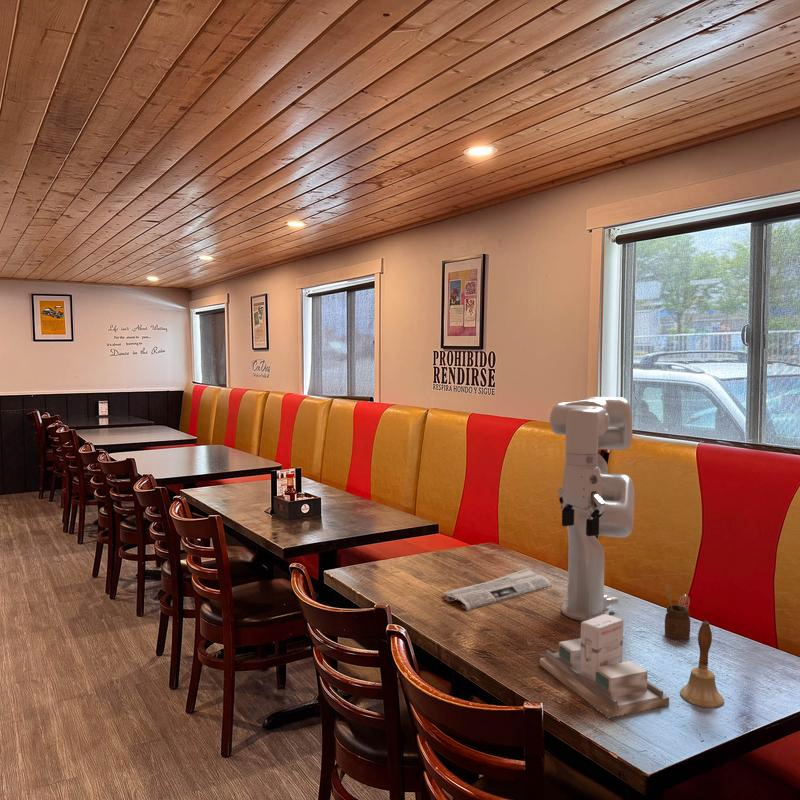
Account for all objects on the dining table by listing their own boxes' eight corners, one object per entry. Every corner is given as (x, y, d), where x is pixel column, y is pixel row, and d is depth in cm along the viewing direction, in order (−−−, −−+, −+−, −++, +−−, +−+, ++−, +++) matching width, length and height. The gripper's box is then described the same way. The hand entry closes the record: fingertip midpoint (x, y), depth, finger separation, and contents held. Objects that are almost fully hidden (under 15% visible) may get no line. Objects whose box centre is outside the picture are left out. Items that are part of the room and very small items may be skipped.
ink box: (604, 664, 146) (606, 612, 145) (623, 673, 142) (624, 619, 141) (578, 674, 141) (579, 620, 140) (597, 684, 137) (598, 628, 136)
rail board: (594, 654, 155) (595, 629, 155) (669, 704, 133) (670, 675, 132) (539, 664, 150) (540, 638, 149) (607, 718, 127) (608, 688, 127)
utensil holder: (680, 642, 162) (682, 594, 161) (658, 633, 167) (659, 587, 167) (695, 637, 165) (696, 590, 165) (672, 628, 171) (673, 583, 170)
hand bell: (711, 687, 140) (713, 614, 139) (732, 707, 132) (735, 630, 131) (672, 687, 140) (675, 614, 139) (691, 708, 131) (694, 630, 130)
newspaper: (467, 612, 182) (467, 600, 182) (439, 599, 192) (439, 587, 192) (554, 588, 202) (554, 576, 202) (525, 577, 212) (525, 566, 212)
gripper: (618, 464, 151) (616, 538, 152) (573, 454, 167) (571, 520, 168) (590, 466, 148) (589, 541, 149) (547, 455, 165) (546, 523, 166)
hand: (579, 530), depth 159 cm, fingers open, 9 cm apart
